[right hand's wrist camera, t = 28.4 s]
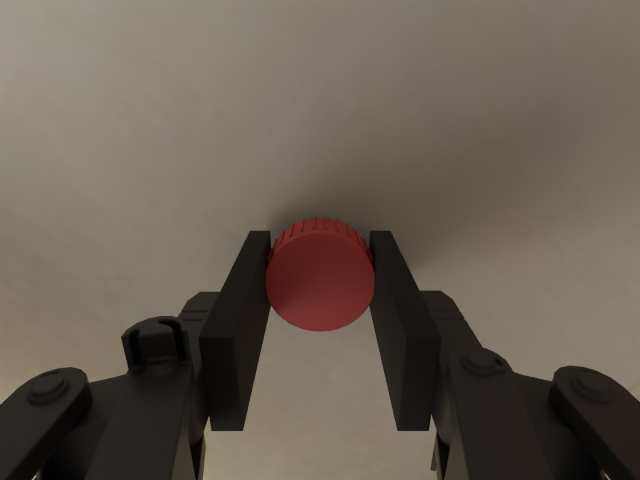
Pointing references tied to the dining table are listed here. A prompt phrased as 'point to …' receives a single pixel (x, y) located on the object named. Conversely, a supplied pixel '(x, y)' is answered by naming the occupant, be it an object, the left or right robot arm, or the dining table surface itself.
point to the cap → (320, 275)
